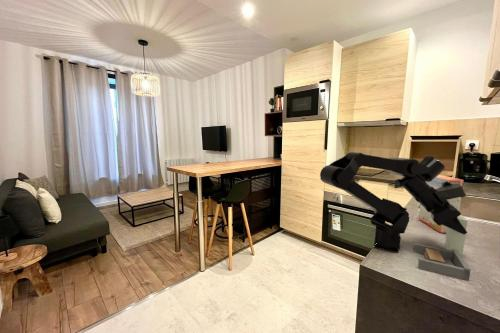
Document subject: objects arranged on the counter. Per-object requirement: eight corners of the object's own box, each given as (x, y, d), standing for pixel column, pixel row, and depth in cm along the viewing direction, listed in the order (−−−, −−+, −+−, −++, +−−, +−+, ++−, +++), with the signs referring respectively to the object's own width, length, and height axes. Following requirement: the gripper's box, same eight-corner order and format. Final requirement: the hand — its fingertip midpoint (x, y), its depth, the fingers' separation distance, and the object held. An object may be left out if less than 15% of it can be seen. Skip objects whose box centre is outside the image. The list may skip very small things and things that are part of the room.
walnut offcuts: (429, 270, 58) (430, 259, 57) (423, 256, 64) (424, 247, 64) (446, 274, 56) (447, 263, 56) (438, 260, 62) (440, 250, 62)
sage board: (448, 252, 64) (453, 218, 63) (444, 245, 68) (449, 213, 67) (462, 255, 63) (467, 220, 61) (457, 248, 67) (462, 215, 66)
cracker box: (458, 234, 78) (464, 179, 76) (439, 233, 80) (445, 178, 77) (433, 220, 92) (438, 173, 89) (418, 219, 93) (422, 173, 91)
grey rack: (418, 268, 58) (419, 257, 58) (413, 250, 67) (414, 241, 67) (468, 280, 53) (470, 269, 52) (455, 259, 62) (456, 250, 62)
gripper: (454, 179, 57) (509, 227, 52) (438, 170, 73) (479, 207, 68) (415, 202, 62) (461, 248, 57) (407, 190, 78) (444, 225, 73)
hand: (462, 230), depth 64 cm, fingers closed on sage board, 5 cm apart
